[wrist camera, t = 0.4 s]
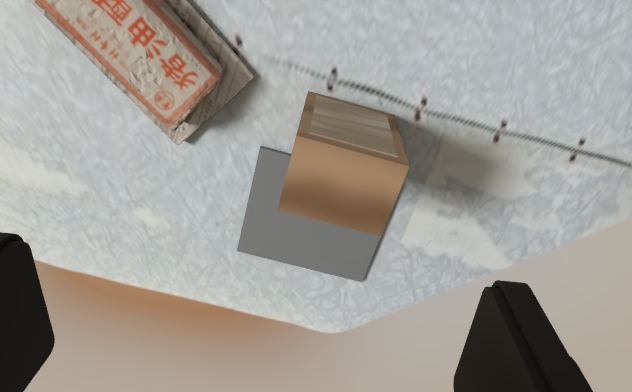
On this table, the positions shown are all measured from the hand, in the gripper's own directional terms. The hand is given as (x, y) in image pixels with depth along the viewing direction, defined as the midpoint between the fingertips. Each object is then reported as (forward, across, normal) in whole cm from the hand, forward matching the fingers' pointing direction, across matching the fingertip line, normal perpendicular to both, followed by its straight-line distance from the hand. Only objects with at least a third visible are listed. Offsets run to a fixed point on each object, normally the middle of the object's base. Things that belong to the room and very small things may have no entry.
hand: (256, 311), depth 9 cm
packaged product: (+33, +15, 0) cm, 36 cm away
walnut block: (+32, -3, +8) cm, 33 cm away
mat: (+32, -1, +17) cm, 36 cm away
